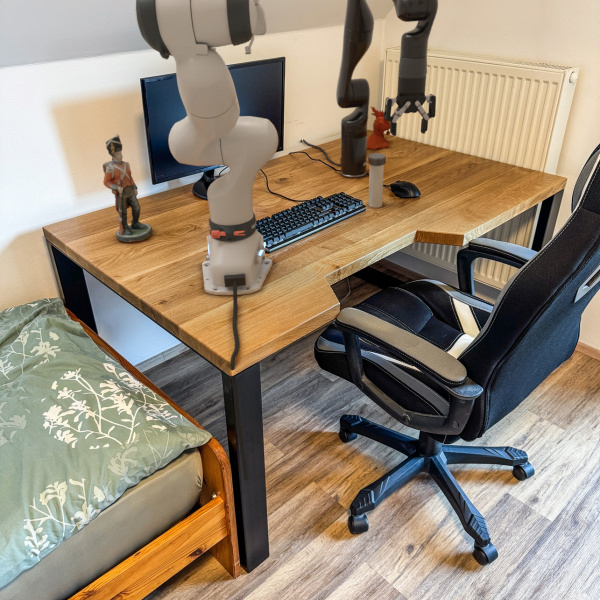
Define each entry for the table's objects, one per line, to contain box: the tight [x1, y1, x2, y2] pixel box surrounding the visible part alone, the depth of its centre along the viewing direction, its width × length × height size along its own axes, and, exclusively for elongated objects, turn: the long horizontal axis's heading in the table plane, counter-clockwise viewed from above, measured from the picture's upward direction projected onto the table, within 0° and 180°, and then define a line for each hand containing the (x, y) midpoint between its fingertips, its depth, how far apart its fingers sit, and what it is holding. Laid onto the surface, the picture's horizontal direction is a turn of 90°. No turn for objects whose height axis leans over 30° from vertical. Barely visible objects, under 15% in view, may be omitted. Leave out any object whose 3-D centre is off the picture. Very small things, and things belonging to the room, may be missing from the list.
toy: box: [367, 106, 391, 151], centre depth 232 cm, size 13×18×15 cm
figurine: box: [102, 133, 153, 243], centre depth 161 cm, size 11×11×30 cm
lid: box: [367, 152, 387, 166], centre depth 174 cm, size 5×5×2 cm
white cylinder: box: [368, 164, 385, 209], centre depth 178 cm, size 4×4×16 cm
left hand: (231, 54), depth 151 cm, fingers open, 8 cm apart
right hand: (408, 134), depth 161 cm, fingers open, 8 cm apart
